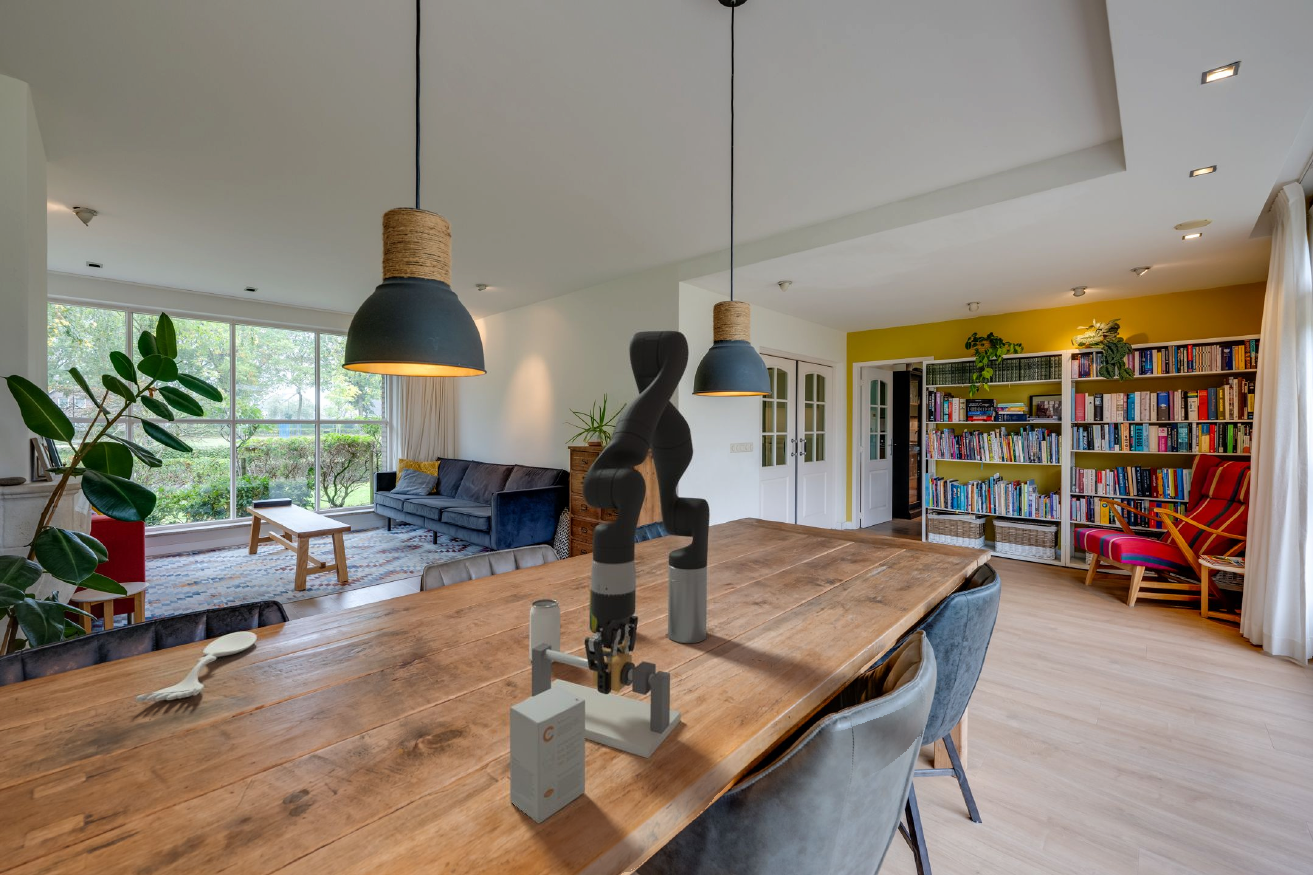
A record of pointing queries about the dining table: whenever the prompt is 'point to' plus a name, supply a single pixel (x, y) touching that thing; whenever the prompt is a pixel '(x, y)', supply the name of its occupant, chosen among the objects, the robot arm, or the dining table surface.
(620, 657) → the sleeve
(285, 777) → the dining table surface
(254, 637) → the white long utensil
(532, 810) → the small box
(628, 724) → the cable stand
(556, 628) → the can
